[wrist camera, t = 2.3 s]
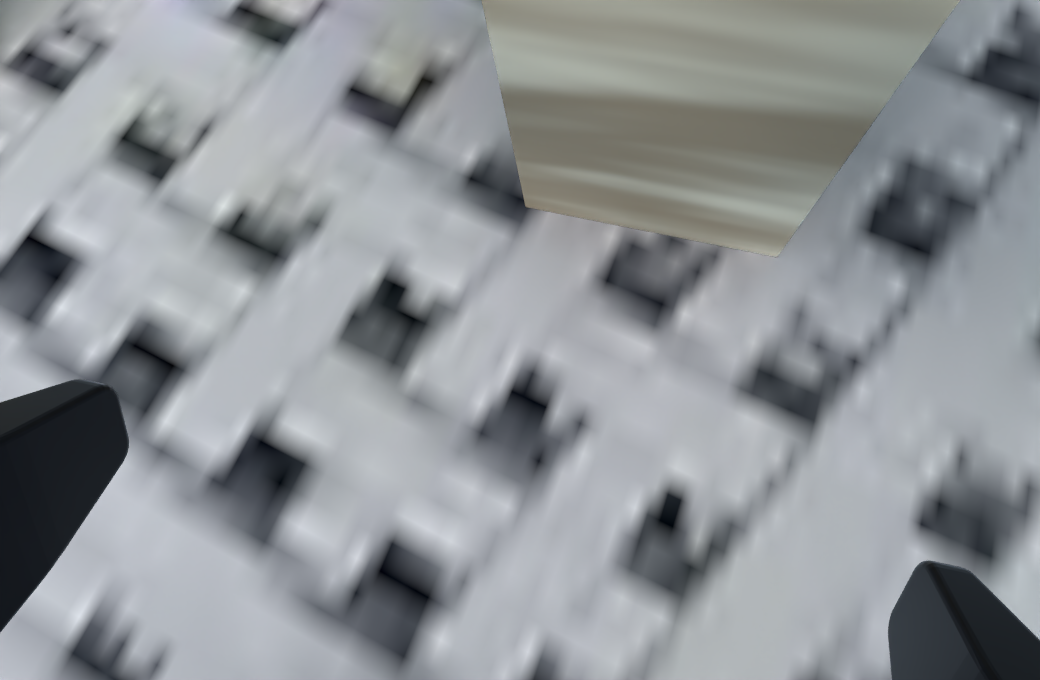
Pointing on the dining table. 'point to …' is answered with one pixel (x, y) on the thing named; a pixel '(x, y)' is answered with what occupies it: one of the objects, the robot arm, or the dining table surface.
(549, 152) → the tile
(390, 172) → the dining table surface
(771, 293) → the dining table surface
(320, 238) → the dining table surface
